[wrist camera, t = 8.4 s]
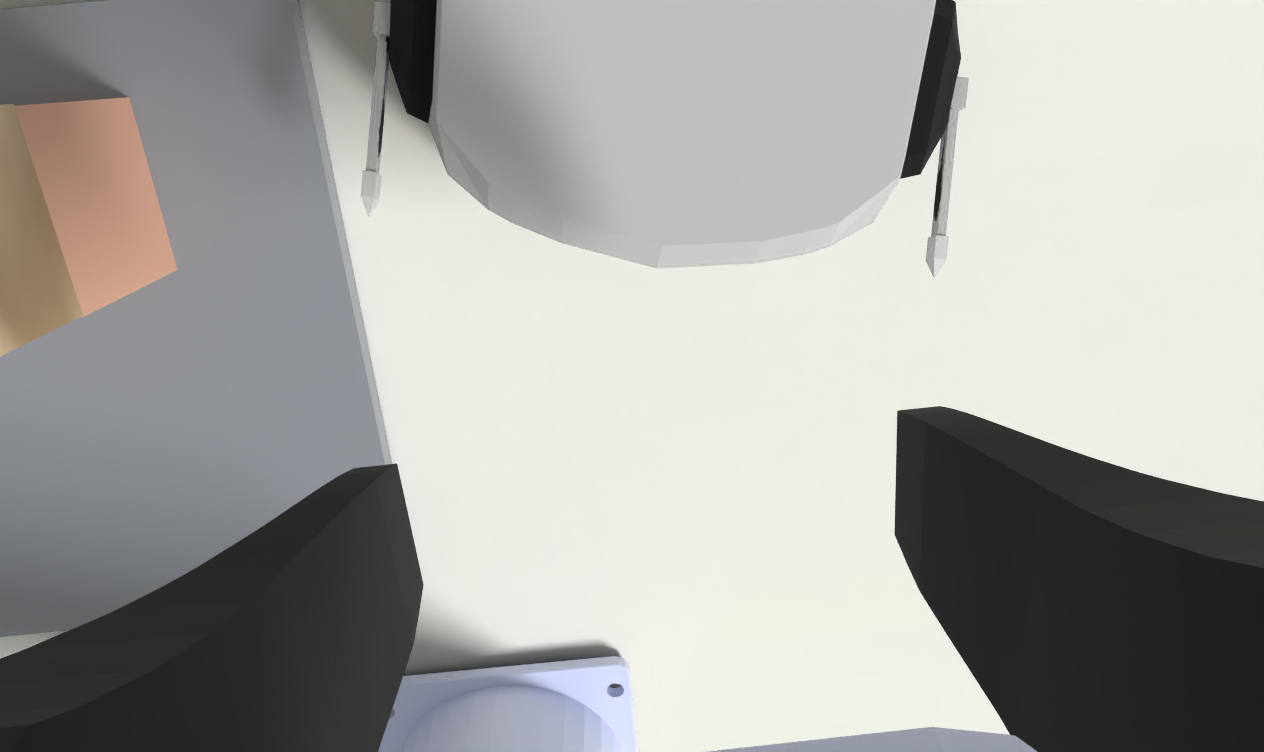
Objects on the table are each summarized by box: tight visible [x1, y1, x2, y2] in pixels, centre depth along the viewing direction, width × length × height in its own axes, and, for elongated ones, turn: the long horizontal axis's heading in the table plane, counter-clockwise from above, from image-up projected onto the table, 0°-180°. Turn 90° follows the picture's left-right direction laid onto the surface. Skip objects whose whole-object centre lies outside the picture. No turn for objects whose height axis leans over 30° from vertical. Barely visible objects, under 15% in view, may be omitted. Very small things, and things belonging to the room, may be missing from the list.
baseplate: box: [0, 0, 392, 637], centre depth 21 cm, size 16×18×1 cm
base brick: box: [14, 97, 177, 317], centre depth 18 cm, size 4×4×4 cm
